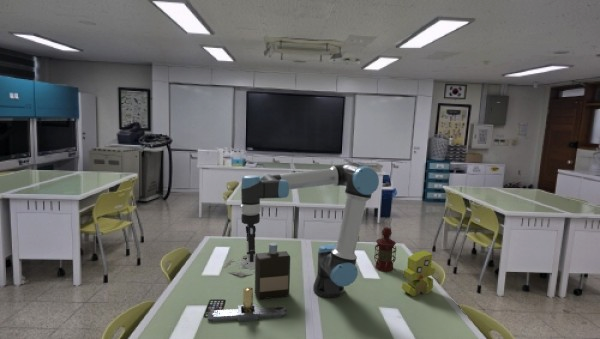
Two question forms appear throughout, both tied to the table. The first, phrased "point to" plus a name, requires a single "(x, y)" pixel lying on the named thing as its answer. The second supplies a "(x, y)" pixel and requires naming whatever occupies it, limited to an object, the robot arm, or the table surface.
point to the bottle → (272, 273)
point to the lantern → (385, 251)
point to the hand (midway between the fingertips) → (250, 262)
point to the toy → (419, 273)
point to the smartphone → (214, 306)
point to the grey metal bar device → (246, 314)
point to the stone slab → (241, 267)
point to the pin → (248, 300)
